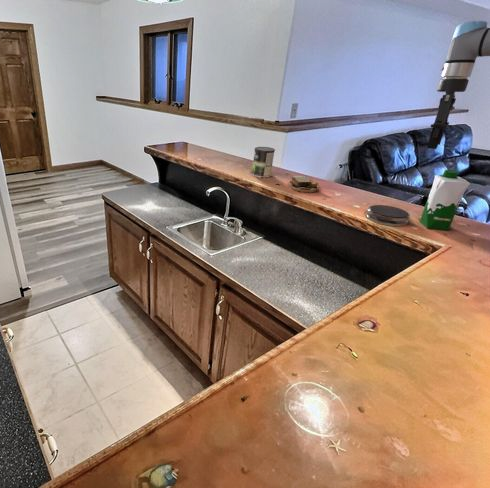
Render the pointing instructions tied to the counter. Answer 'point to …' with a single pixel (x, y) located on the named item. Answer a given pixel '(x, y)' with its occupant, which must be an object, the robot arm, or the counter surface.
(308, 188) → the toy sandwich meal
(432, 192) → the soya milk
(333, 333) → the counter surface
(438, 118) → the robot arm
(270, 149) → the coffee can
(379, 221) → the stand
